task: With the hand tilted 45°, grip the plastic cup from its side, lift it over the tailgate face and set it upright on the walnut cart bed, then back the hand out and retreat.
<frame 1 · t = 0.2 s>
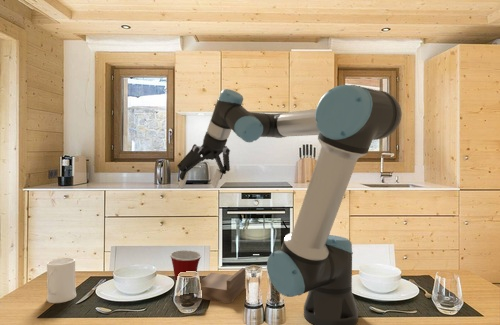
hand: (197, 186, 130), 35 cm above the table, tool tilted 35°, fingers open, 13 cm apart
mug: (58, 300, 116), on the table
plastic cup: (186, 288, 126), on the table
cart bed: (220, 292, 121), on the table
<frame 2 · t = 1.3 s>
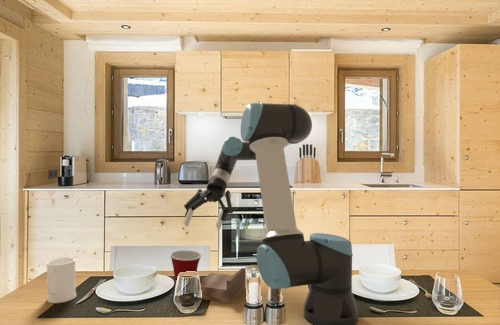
hand: (201, 226, 136), 19 cm above the table, tool tilted 45°, fingers open, 13 cm apart
nothing on the table moved.
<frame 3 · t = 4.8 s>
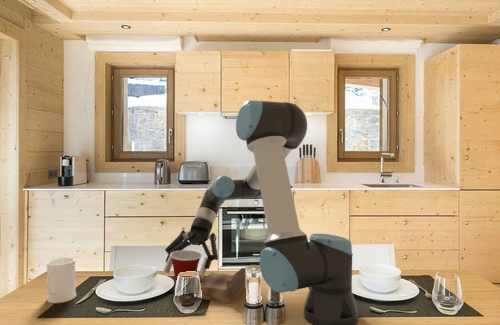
hand: (182, 274, 124), 5 cm above the table, tool tilted 45°, fingers open, 13 cm apart
nothing on the table moved.
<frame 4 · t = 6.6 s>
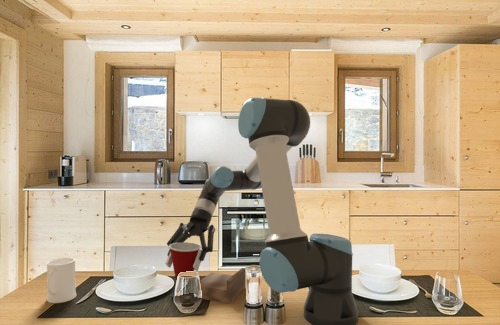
hand: (181, 267, 123), 8 cm above the table, tool tilted 45°, fingers closed on plastic cup, 10 cm apart
plastic cup: (185, 280, 125), point 3 cm above the table, touching gripper
everything else where it was.
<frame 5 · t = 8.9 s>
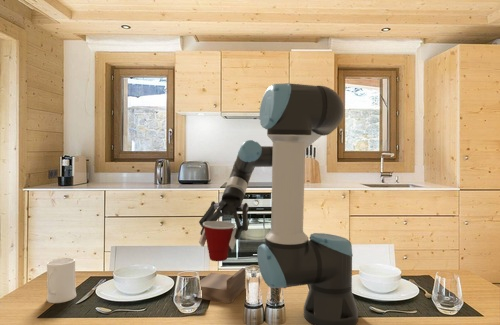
hand: (215, 245, 118), 17 cm above the table, tool tilted 45°, fingers closed on plastic cup, 10 cm apart
plastic cup: (219, 259, 120), point 11 cm above the table, touching gripper
everything else where it was.
when the fingers open (10 cm above the table, at t = 11.4 s): plastic cup moves 1 cm, resting on cart bed.
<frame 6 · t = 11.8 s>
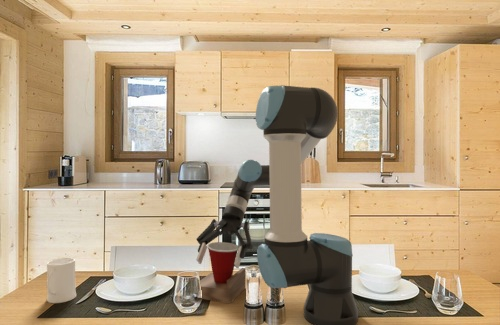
hand: (217, 264, 119), 10 cm above the table, tool tilted 45°, fingers open, 13 cm apart
plastic cup: (223, 281, 121), point 4 cm above the table, touching cart bed
everything else where it was.
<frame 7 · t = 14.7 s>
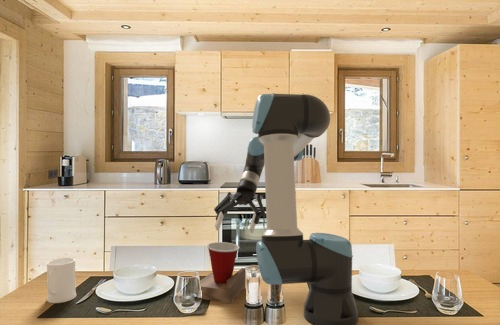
hand: (233, 229, 132), 19 cm above the table, tool tilted 45°, fingers open, 13 cm apart
nothing on the table moved.
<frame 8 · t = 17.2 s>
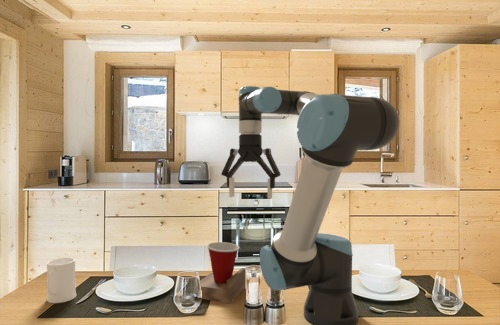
hand: (250, 197, 122), 32 cm above the table, tool pointing down, fingers open, 13 cm apart
nothing on the table moved.
at the end: plastic cup inside the target area on the cart bed (1.0 cm from its centre), point 3.8 cm above the cart bed's base; plastic cup tilted 0°; the gripper is holding nothing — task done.
